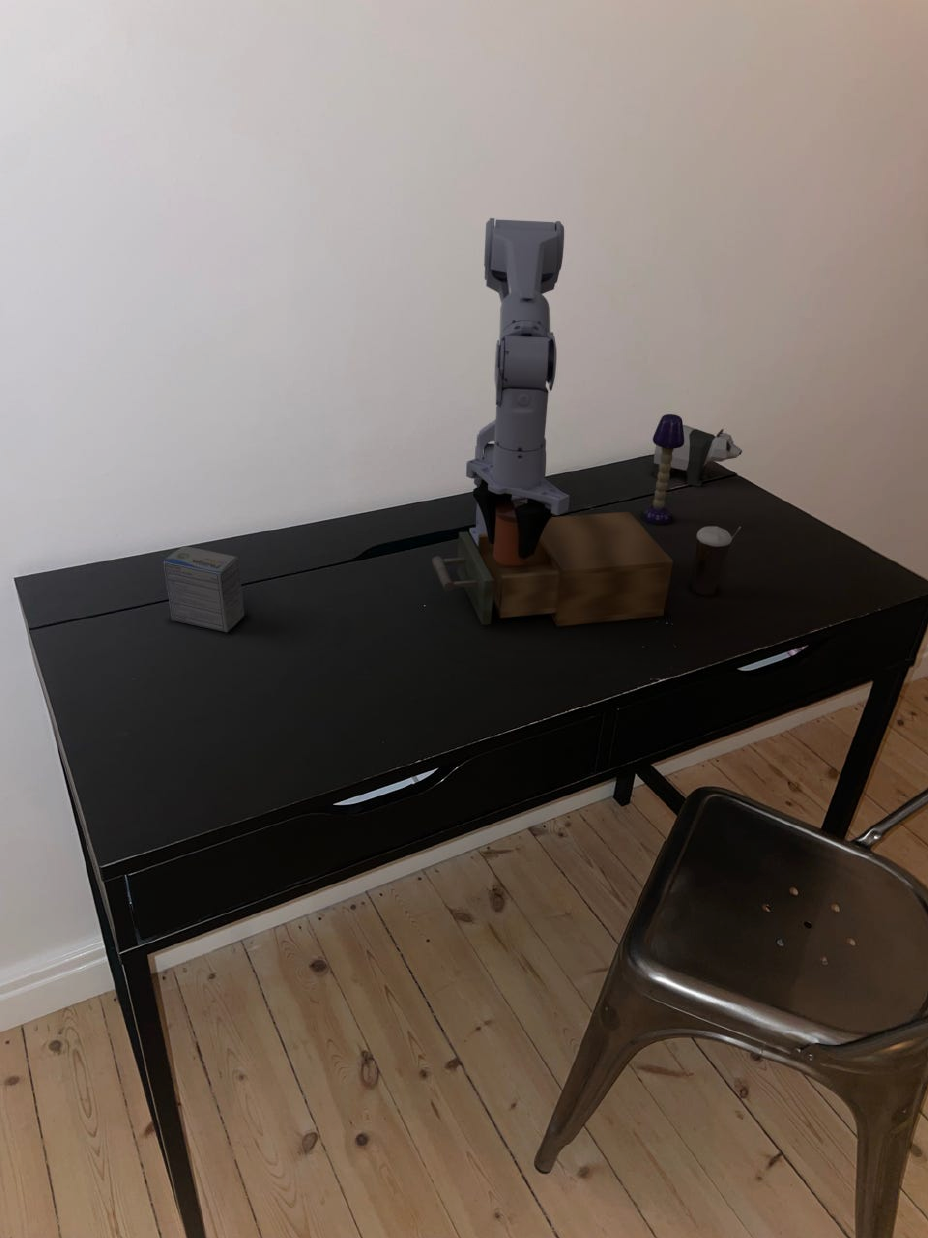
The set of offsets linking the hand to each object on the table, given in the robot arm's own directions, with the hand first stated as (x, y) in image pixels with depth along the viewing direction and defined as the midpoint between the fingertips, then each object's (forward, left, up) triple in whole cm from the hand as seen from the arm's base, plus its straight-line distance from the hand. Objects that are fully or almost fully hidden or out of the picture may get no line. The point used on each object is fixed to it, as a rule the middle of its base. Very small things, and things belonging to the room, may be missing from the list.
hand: (511, 548), depth 116 cm
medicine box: (-7, -37, -11) cm, 39 cm away
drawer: (-5, +1, -9) cm, 11 cm away
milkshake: (-3, +29, -11) cm, 31 cm away
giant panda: (-39, +43, -11) cm, 59 cm away
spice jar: (0, 0, -1) cm, 1 cm away
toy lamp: (-25, +31, -11) cm, 41 cm away
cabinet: (-5, +13, -10) cm, 18 cm away
